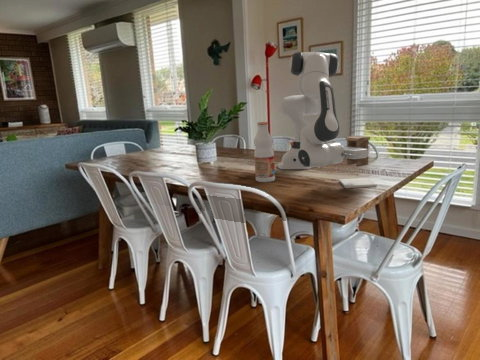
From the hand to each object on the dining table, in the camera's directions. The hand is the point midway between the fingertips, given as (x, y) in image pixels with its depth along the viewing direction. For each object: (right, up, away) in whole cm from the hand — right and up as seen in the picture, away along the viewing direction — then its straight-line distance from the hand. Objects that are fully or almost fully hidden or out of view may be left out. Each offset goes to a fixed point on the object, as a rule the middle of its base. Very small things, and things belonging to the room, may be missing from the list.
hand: (359, 149), depth 157 cm
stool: (0, -7, +1) cm, 7 cm away
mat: (0, -15, +3) cm, 15 cm away
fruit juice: (-39, -14, +20) cm, 46 cm away
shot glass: (+25, +1, +65) cm, 69 cm away
